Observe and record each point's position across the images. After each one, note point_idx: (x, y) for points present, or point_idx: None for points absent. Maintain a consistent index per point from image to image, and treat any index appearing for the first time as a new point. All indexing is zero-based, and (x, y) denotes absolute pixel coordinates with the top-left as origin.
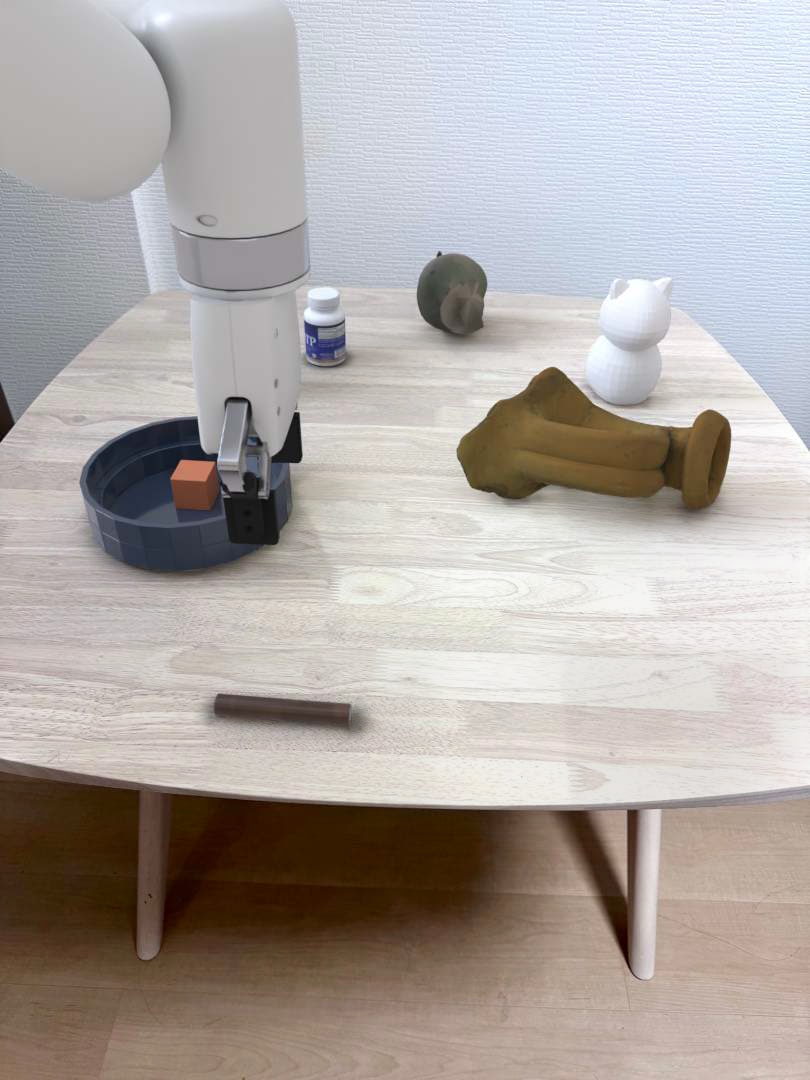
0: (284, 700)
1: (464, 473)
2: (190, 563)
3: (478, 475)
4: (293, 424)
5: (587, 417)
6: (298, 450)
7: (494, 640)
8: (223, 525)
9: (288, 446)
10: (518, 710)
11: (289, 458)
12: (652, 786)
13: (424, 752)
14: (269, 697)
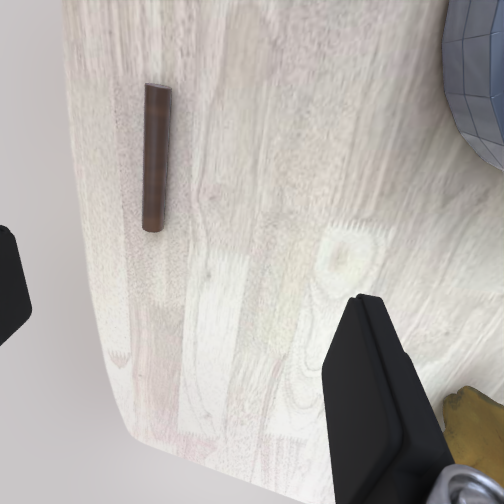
0: (153, 170)
1: (484, 394)
2: (452, 13)
3: (472, 404)
4: (337, 486)
5: None
6: (324, 402)
7: (250, 342)
8: (482, 87)
9: (332, 396)
10: (174, 339)
11: (330, 363)
12: (117, 385)
13: (129, 274)
14: (159, 152)
